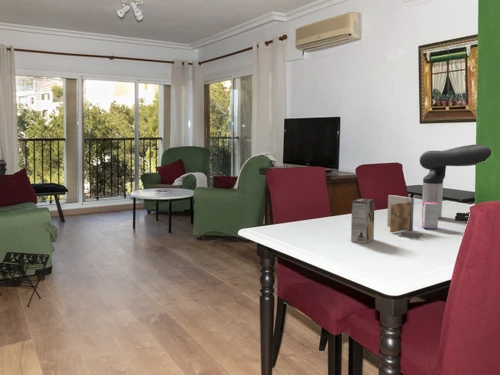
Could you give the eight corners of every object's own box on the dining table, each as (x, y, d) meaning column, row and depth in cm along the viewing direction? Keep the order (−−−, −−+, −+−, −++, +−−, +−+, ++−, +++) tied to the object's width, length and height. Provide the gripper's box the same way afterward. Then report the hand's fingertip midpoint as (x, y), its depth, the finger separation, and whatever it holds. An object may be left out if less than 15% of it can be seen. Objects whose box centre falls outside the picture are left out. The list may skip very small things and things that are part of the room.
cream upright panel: (390, 225, 208) (391, 195, 206) (413, 230, 197) (414, 198, 196) (387, 225, 207) (388, 195, 205) (410, 230, 196) (411, 198, 195)
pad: (401, 232, 192) (401, 232, 192) (422, 234, 189) (422, 233, 189) (398, 236, 185) (398, 235, 185) (419, 238, 182) (419, 237, 182)
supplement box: (438, 229, 198) (439, 203, 197) (423, 229, 199) (424, 203, 198) (435, 227, 204) (436, 201, 202) (421, 226, 205) (422, 201, 204)
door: (407, 229, 197) (408, 201, 196) (411, 230, 195) (412, 202, 194) (390, 232, 191) (390, 203, 190) (394, 233, 189) (395, 204, 188)
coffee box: (358, 237, 184) (359, 198, 182) (374, 239, 180) (375, 199, 179) (350, 241, 176) (351, 200, 174) (366, 244, 173) (367, 202, 171)
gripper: (498, 208, 195) (456, 205, 202) (499, 213, 182) (455, 210, 189) (497, 225, 196) (456, 222, 203) (498, 231, 183) (454, 228, 190)
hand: (455, 216), depth 196 cm, fingers open, 8 cm apart
